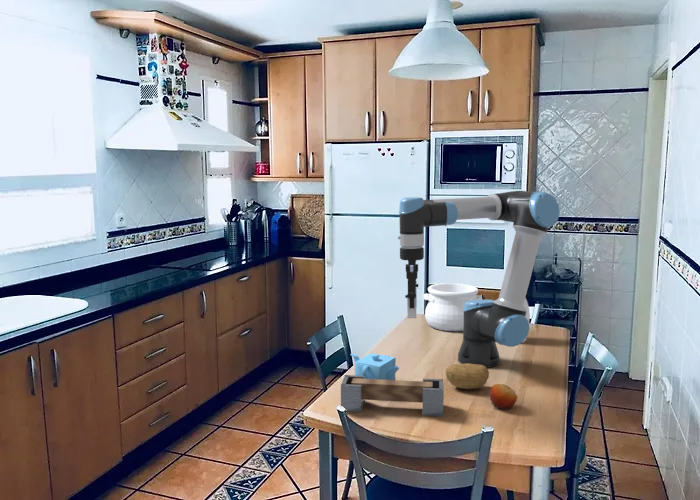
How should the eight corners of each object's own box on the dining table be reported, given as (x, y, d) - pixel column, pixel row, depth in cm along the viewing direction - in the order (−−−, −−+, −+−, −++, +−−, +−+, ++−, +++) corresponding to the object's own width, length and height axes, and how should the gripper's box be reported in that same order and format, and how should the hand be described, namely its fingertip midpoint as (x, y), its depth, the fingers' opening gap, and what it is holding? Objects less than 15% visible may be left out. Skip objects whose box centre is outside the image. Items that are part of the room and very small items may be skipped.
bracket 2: (442, 404, 181) (443, 379, 180) (443, 416, 173) (443, 390, 172) (422, 403, 182) (423, 378, 181) (422, 415, 173) (422, 389, 172)
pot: (422, 331, 261) (422, 292, 258) (424, 317, 285) (424, 281, 282) (482, 334, 256) (484, 294, 254) (480, 320, 280) (481, 283, 278)
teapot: (386, 401, 184) (387, 366, 183) (338, 389, 194) (337, 356, 192) (409, 385, 198) (410, 352, 196) (362, 375, 207) (363, 343, 205)
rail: (432, 397, 179) (432, 381, 178) (432, 403, 175) (432, 386, 174) (353, 393, 182) (353, 378, 181) (351, 398, 178) (351, 382, 178)
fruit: (480, 397, 183) (493, 376, 182) (501, 409, 184) (514, 388, 183) (488, 408, 175) (502, 385, 174) (510, 420, 176) (524, 398, 175)
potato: (444, 381, 201) (445, 358, 199) (487, 384, 198) (488, 361, 197) (444, 392, 191) (445, 368, 190) (489, 395, 189) (490, 371, 188)
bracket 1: (340, 411, 177) (340, 385, 175) (345, 399, 185) (345, 374, 184) (361, 412, 176) (361, 386, 175) (364, 400, 185) (364, 375, 184)
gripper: (401, 241, 200) (401, 302, 203) (398, 253, 175) (399, 322, 179) (423, 241, 199) (423, 303, 202) (424, 252, 174) (424, 323, 178)
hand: (412, 312), depth 190 cm, fingers open, 13 cm apart
